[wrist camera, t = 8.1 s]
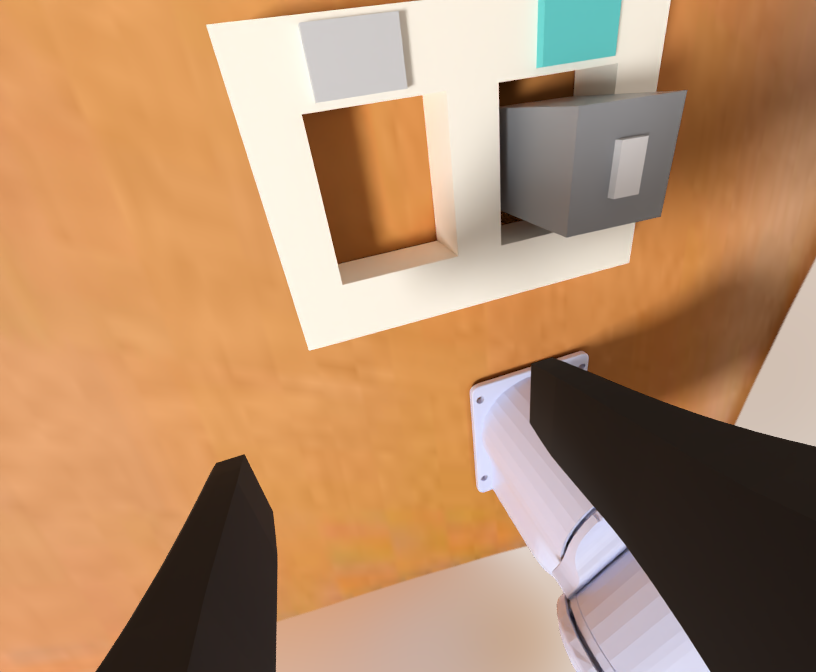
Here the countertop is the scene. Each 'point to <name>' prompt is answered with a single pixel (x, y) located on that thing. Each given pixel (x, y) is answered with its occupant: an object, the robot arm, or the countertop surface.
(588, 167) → the plug
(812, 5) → the countertop surface
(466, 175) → the socket board
